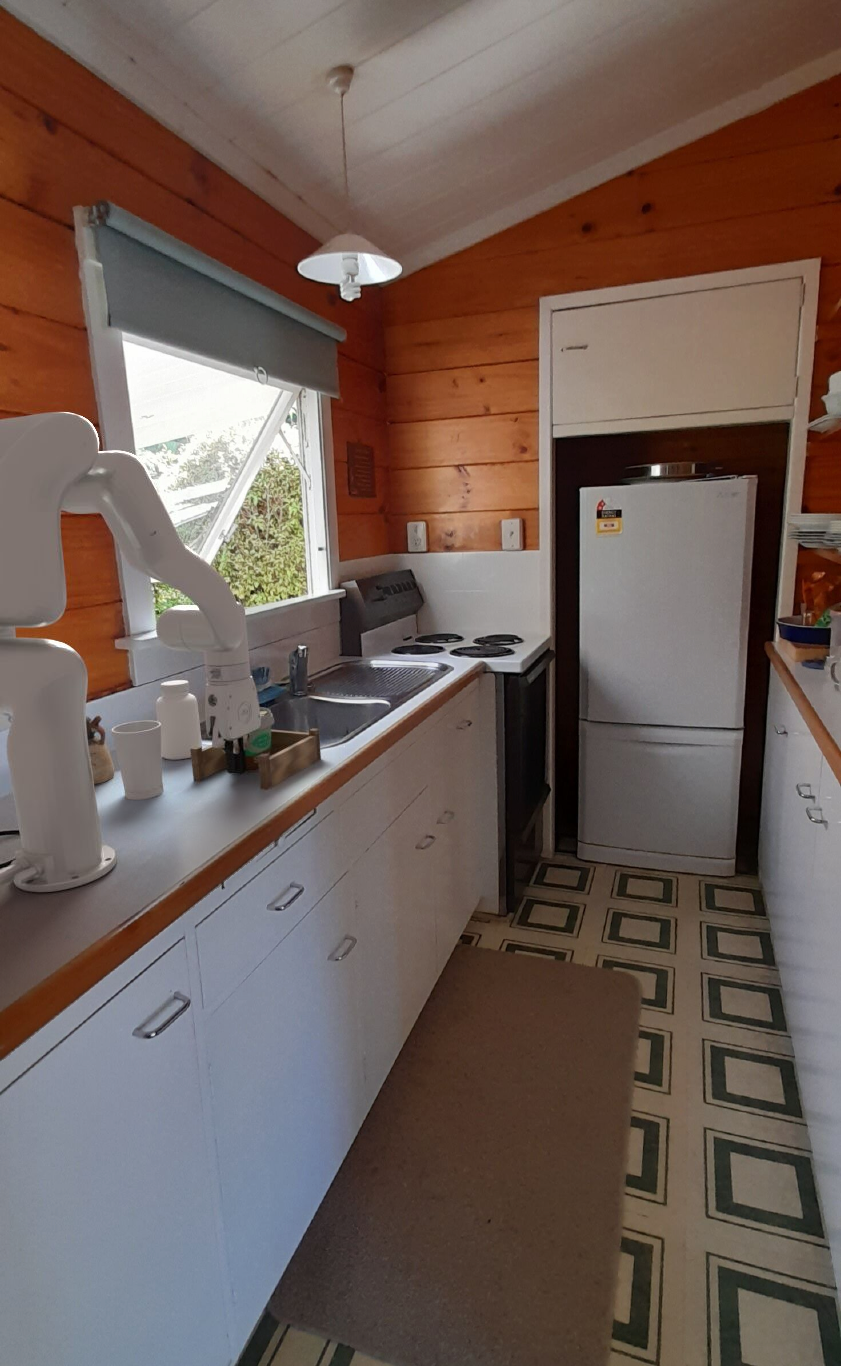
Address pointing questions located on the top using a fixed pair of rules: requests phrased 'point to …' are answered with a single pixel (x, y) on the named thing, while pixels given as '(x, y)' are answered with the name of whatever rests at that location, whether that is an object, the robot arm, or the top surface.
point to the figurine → (98, 752)
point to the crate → (265, 757)
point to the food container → (259, 740)
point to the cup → (139, 758)
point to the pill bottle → (178, 720)
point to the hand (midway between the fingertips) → (237, 772)
